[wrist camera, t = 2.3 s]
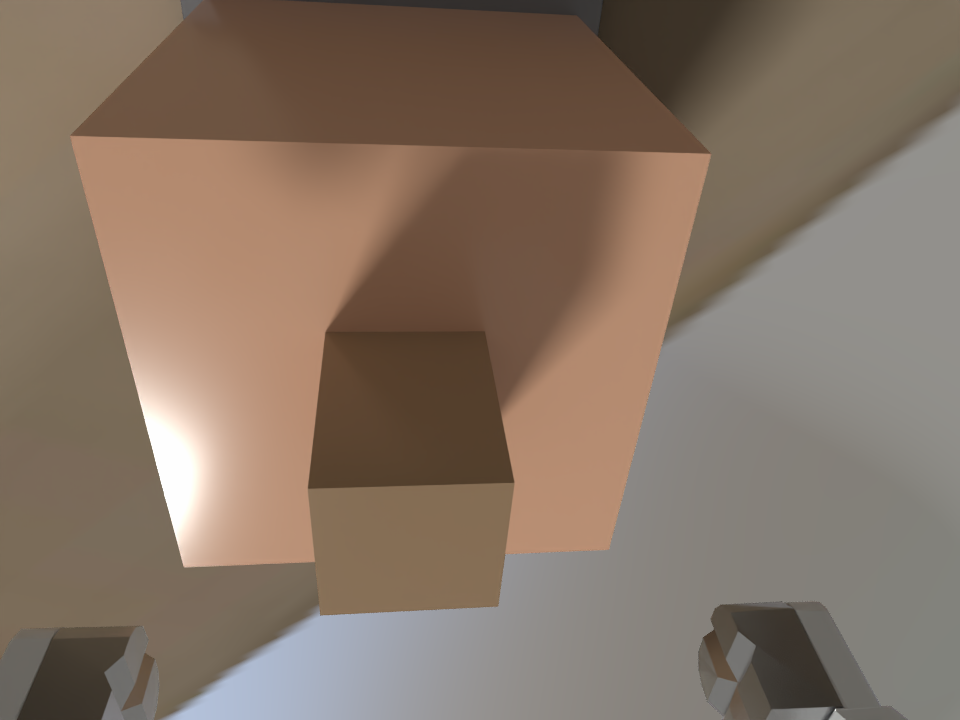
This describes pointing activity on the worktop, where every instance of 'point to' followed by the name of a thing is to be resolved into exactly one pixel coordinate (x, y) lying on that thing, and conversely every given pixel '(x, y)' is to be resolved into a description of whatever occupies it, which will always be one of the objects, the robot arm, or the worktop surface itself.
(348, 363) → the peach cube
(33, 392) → the worktop surface
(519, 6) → the mat
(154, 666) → the robot arm
